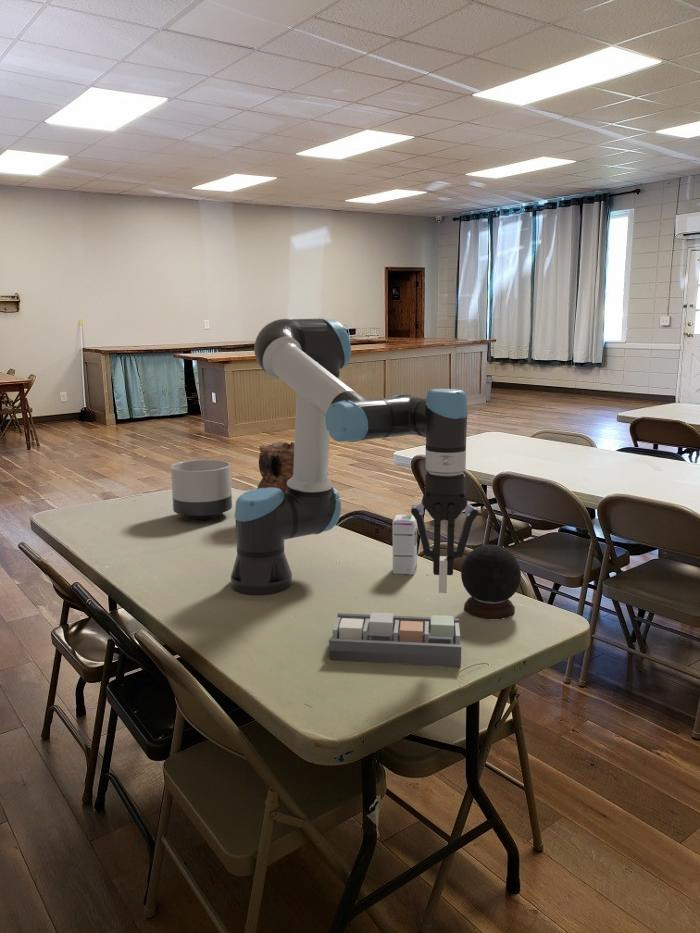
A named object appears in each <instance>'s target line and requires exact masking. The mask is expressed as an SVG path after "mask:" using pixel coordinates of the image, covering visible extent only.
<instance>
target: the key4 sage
mask: <svg viewBox="0 0 700 933" xmlns="http://www.w3.org/2000/svg"><path fill="white" fill-rule="evenodd" d="M430 617H431V636H440V637H454V615H436V614H435V615H434V614H431V615H430Z"/></svg>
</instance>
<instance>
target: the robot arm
mask: <svg viewBox="0 0 700 933" xmlns="http://www.w3.org/2000/svg"><path fill="white" fill-rule="evenodd" d="M253 347H254V348H253V349H254V350H253V351H254V356H255V360H256V362H257V364H258V365H259V366H260V368H261V369H262V371H264V372H265V373H266V374H268V375H269V376H270V377H272V378H274V379H280V380H282V381H283V382H284V383H286V385H287V386H289V387H290V389H293V390H294V392H295V393H296V397H295V398H296V399H295V423H294V425H295V426H294V442H295V443H294V467H293V476H292V477H291V478H290V479H289V480H288V481H287V490H286V492H284V493H283V492H282V490H281V489H278V488H273V487H268V488H259V489H257V488H255V489H251V490H248V491H246V492H243V493H242V494H241V495H239V496H238V497H237V499H236V500H235V510H234V519H235V533H236V534H235V535H236V536H235V539H236V557H235V560H234V564H233V567H232V570H231V574H230V587H231V589H233V590H234V591H235V592H236V591H237V592H239V593H241V594H246V595H268V594H269V595H270V594H275V593H279V592H282V591H284V590H286V589H288V588H289V587H291V586H292V584H293V573H292V570H291V568H290V565H289V561H288V559H287V556H286V553H285V540H289V539H294V538H295V539H296V538H300V537H305V536H310V535H320V534H321V533H324V532H327V531H328V532H329V531H330V530H332V529H333V528H334V527H336V525H337V524H338V522H339V520H340V517H341V514H342V513H341V512H342V501H341V500H340V494H339V492H338V490H337V489H336V488H335V487H333V486H334V485H333V481H332V480H330V479H329V477H328V472H329V454H330V452H329V450H330V438H332V440H333V441H335V442H340V443H342V442H344V443H345V442H346V443H347V442H348V443H355V442H359V441H367V440H375V439H382V438H383V439H384V438H393V437H401V436H403V437H404V436H417V437H422V438H425V465H424V467H425V470H426V471H427V472H426V473H425V476H424V495H423V497H422V499H421V501H420V502H419V503H417V504H414V505H413V504H412V506H411V510H410V512H411V515H413V516H414V518H415V519H416V521H417V530H418V533H419V537H420V538H419V539H420V541H421V546H422V550H423V554H424V556H425V557H429V558H432V560H433V562H432V563H433V564H432V572H433V575H434V576H438V593H439V594H447V593H448V591H447V588H448V576H453V574H454V560H455V559H457V558H462V557H463V556H464V553H465V551H466V547H467V542H468V539H469V536H470V532H471V528H472V525H473V522H474V521H475V520H476V518H477V516H478V515H479V510H478V507H477V506H472V505H471V504H469V502H468V499H467V497H466V474H465V471H466V468H467V467H466V466H467V461H466V460H467V432H468V430H467V429H468V428H467V427H468V424H467V423H468V416H469V411H468V398H467V397H468V396H467V393H466V392H465V391H464V390H463V389H462V390H461V389H458V388H452V389H451V388H433V389H429V390H428V391H427V392H426V397H423V396H422V397H421V396H415V395H411V394H396V395H393V396H391V397H385V398H372V399H371V398H369V399H366V398H364V397H363V396H362V395H360V394H358V393H357V392H356V391H355V390H353V389H352V388H351V387H350V386H348V385H347V384H345V383H344V382H343V381H342V380H341V379H340V370H341V369H343V368H345V367H346V366H347V365H348V364H349V362H350V361H351V355H352V344H351V340H350V336H349V334H348V332H347V331H346V327H344V326H343V324H341V323H340V322H339V321H337V320H335V319H330V318H329V319H328V318H292V319H291V318H280V319H276V320H273V321H271V322H269V323H267V324H265V325H264V327H262V329H261V330H260V331H259V332H258V334H257V335H256V338H255V342H254V346H253ZM424 508H425V510H426V512H427V513H428V514H429V515H430V516H431V518H432V519H433V548H431V545H430V540H429V537H428V532H427V528H426V524H425V520H424V516H423V515H424V514H425V510H424ZM464 510H465V511H464ZM463 511H464V514H465V518H464V523H463V525H462V528H461V532H460V536H459V540H458V542H457V547H456V549H455V548H454V547H455V521H456V519H457V518H458V517H459V516H460V515H461V514H462V513H463ZM442 521H447V529H446V530H447V534H446V536H447V538H446V540H447V541H446V544H447V545H446V556H444V555H441V532H442V531H441V529H442V528H441V527H442V526H441V525H442Z"/></svg>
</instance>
